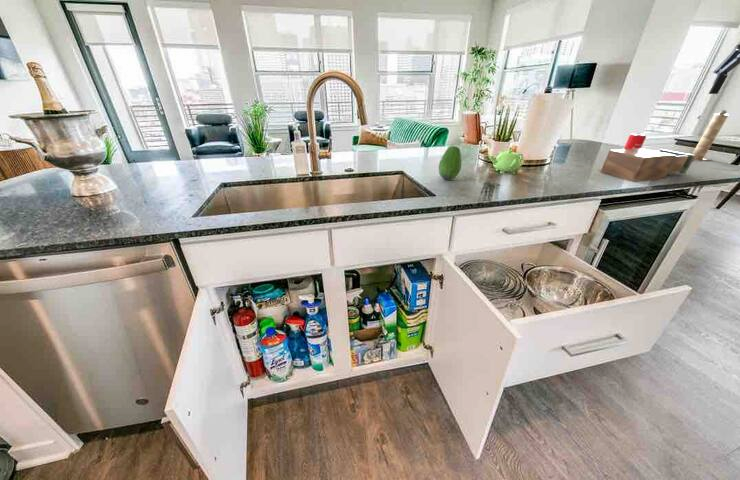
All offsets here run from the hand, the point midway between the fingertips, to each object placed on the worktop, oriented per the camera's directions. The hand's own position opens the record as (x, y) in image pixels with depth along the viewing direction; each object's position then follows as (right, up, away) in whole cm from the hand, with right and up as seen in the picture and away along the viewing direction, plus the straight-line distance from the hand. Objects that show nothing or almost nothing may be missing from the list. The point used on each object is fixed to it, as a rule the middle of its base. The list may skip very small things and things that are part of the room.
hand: (730, 94), depth 105 cm
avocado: (-110, -34, -4) cm, 115 cm away
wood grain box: (-40, -32, -2) cm, 51 cm away
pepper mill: (+8, -19, +18) cm, 27 cm away
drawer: (-27, -29, 0) cm, 40 cm away
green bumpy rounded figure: (-86, -29, +4) cm, 91 cm away
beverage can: (-29, -23, +13) cm, 39 cm away
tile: (+8, -20, +18) cm, 28 cm away
